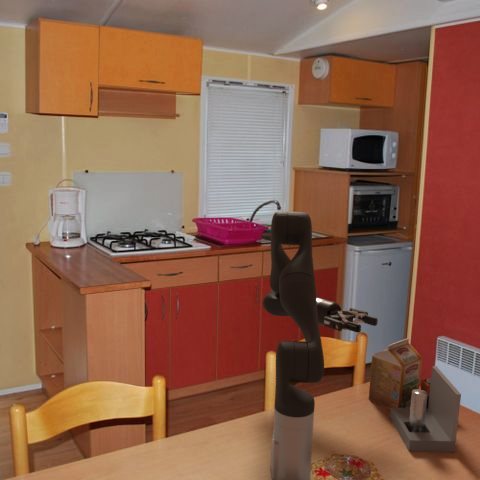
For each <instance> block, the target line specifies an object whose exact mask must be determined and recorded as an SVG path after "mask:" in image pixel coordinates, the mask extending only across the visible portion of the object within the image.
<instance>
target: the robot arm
mask: <svg viewBox="0 0 480 480" xmlns="http://www.w3.org/2000/svg"><path fill="white" fill-rule="evenodd" d="M283 245H284V246H285V245H286V246H299V247H298V250H297V251H296V253H295V254H294V256H293V257H292V258H290V257H289V255H288V254H287V253H286V251H285V249H284V247H283ZM313 258H314V257H313V226H312V219H311V216H310V215H309V213H307V212H304V211H285V210H284V211H276V212H274V214H273V215H272V218H271V225H270V259H271V262H270V263H271V267H270V268H271V269H270V275H269V276H270V277H269V287H270V289H271V290H270V291H269V292H268V293H267V294H266V295H265V296H264V298H263V299H262V307H263V309H264V310H265V311H266V312H267V313H269V315H270V314H271V316H272V315H273V316H275V317H290V319H292V320H293V322H294V323H295V325H297V326H298V328H299V330H300V332H301V334H302V336H303V338H304V340H305V341H301V340H300V341H296V340H295V341H294V340H282V341H280V342H279V343H278V344H277V346H276V351H275V392H274V393H275V395H274V397H275V398H274V411H273V428H272V429H273V431H272V432H271V446H270V447H271V448H270V465H269V467H270V475H271V476H270V477H271V480H310V478H311V471H312V450H313V435H314V420H315V406H316V405H315V403H316V402H315V398H314V396H313V395H312V394H311V393H310V392H308V391H306V390H304V389H302V388H299V387H297V386H295V385H293V384H292V383H306V384H307V383H310V384H312V383H319V382H321V380H322V379H323V378H324V377H323V376H324V372H325V357H324V350H323V349H324V348H323V345H322V344H323V343H322V338H321V333H320V326H323V327H326V328H330V329H332V330H335V331H338V332H342V331H343V330H344V331H352V332H354V333H358V334H359V333H361V331H362V326H361V323H362V324H366V325H368V326H369V325H370V326H372V327H373V326H374V327H376V326H378V321H379V319H378V318H377V317H374V316H370V315H369V312H368V311H364V310H360V309H356V308H352V307H350V308H349V309H342V308H341V306H340V304H339V303H337V302H335V301H332V300H328V299H323V298H320V297H317V285H316V277H315V269H314V260H313ZM359 323H360V324H359ZM319 325H320V326H319Z"/></svg>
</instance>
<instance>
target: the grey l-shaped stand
mask: <svg viewBox="0 0 480 480" xmlns="http://www.w3.org/2000/svg"><path fill="white" fill-rule="evenodd" d="M430 379H431V384H430V394H429V403H428V409H426V414H425V423H424V432H409V431H408V427H409V416H410V407H407V408H391V409H390V411H389V412H390V413H389V418H390V420H391V422H392V424H393V426H394V427H395V429H396V431H397V432H398V434H399V436H400V438H401V440H402V442H403V443H404V446H405V447H406V449H407V450H408V452H434V453H435V452H437V453H438V452H440V453H441V452H442V453H443V452H444V453H445V452H446V453H455V451H456V443H457V442H456V441H457V433H458V426H459V425H458V423H459V416H460V415H459V414H460V409H461V407H460V405H461V401H462V400H461V397H462V393H461V392H460V391H459V390H458V389H457V388H456V387H455V386H454V385H453V384H452V382H451V381H450V380H449V379H448V378H447V377H446V376H445V374H444V373H443V372H442V370H440V368H439V367H438V366H435V365H433V366H432V368H431V377H430Z"/></svg>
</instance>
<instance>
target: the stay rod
mask: <svg viewBox="0 0 480 480" xmlns="http://www.w3.org/2000/svg"><path fill="white" fill-rule="evenodd" d="M420 389H421V388H419V389H415V390H412V396H411V406H409V408H410V416H409V427H408V431H409V432H424V423H425V414H426V404H427V395H428V393H427V392H426V391H424V390H420Z"/></svg>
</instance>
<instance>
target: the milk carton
mask: <svg viewBox="0 0 480 480" xmlns="http://www.w3.org/2000/svg"><path fill="white" fill-rule="evenodd" d="M409 341H410V339H409V338H404V339H402V340H399V341H396V342H394V343H391V344H388V345H387V349H384V350H381V351H378V352H376V353H374V354H372V355H371V366H370V379H369V390H368V400H371V401H373V402H375V403H377V404H379V405H381V406H383V407H386V408H388V409H390V410H391V408H410V406H411V396H412V390H415V389H420V387H421V376H422V375H421V374H422V364H423V358H422V356H421V355H420V353H419V352H418V351H417V350H416V349H415V348H414V347H413V346H412V345H411V343H409Z"/></svg>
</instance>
